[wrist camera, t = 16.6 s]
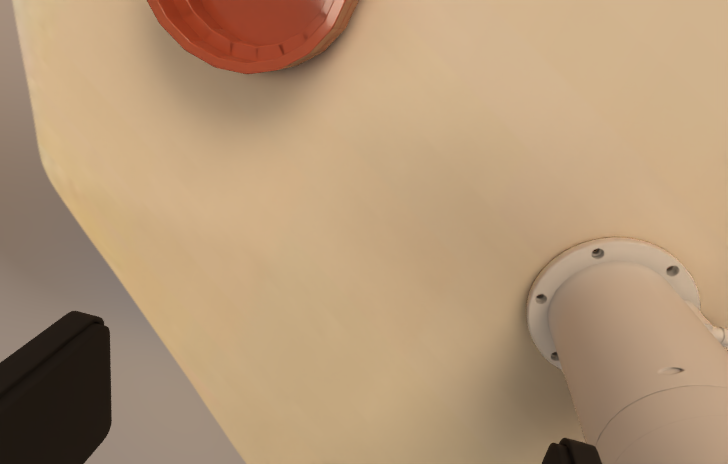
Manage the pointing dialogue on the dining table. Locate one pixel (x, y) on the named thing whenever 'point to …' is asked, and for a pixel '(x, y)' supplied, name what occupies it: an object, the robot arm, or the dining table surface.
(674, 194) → the dining table surface
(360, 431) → the dining table surface
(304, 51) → the bowl
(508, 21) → the dining table surface
